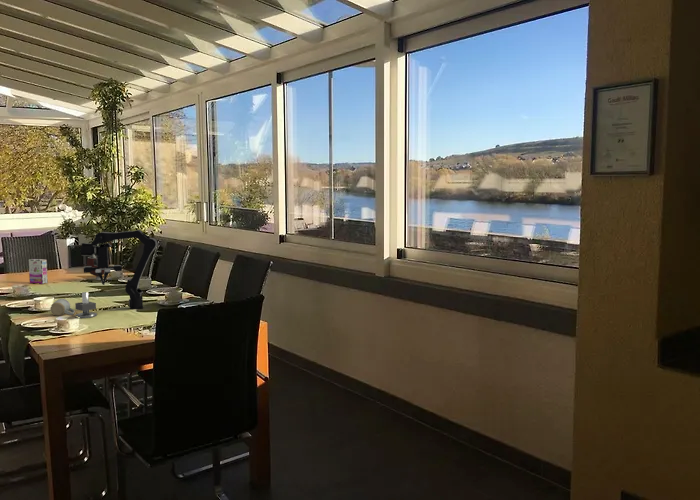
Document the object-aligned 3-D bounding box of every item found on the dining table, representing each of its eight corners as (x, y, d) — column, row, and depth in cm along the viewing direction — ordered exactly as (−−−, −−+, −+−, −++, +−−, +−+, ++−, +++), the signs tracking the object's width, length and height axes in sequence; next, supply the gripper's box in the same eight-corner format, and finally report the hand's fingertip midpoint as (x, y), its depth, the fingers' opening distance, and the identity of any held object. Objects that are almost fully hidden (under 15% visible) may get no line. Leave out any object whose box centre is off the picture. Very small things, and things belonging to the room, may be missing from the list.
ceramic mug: (49, 316, 300) (49, 301, 299) (55, 313, 308) (54, 298, 308) (71, 316, 302) (71, 301, 301) (76, 313, 310) (76, 298, 309)
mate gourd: (113, 281, 418) (112, 252, 416) (96, 283, 406) (95, 254, 404) (99, 279, 426) (98, 251, 424) (82, 281, 415) (81, 252, 413)
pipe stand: (90, 313, 308) (89, 290, 307) (100, 315, 302) (99, 292, 301) (71, 316, 300) (70, 292, 299) (81, 319, 294) (80, 295, 293)
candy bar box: (48, 283, 407) (47, 259, 405) (42, 284, 402) (41, 260, 400) (35, 282, 410) (34, 258, 408) (29, 283, 405) (28, 259, 404)
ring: (88, 307, 306) (88, 301, 305) (96, 308, 301) (95, 303, 301) (75, 309, 300) (75, 303, 300) (82, 311, 296) (82, 305, 296)
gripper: (120, 253, 329) (121, 281, 330) (83, 254, 321) (84, 283, 323) (121, 255, 318) (122, 284, 320) (83, 257, 311) (84, 286, 312)
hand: (103, 284), depth 319 cm, fingers closed
